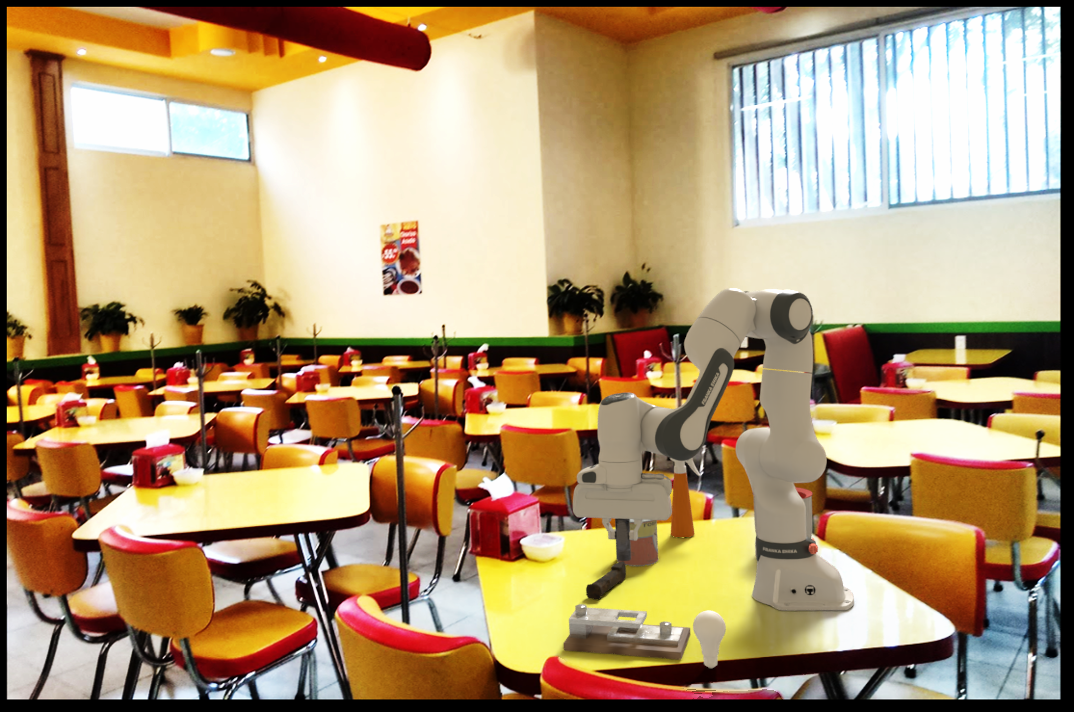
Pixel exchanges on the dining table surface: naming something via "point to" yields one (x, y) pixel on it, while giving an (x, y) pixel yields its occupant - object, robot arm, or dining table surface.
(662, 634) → the metal clamp fixture
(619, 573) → the hand tool
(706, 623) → the lightbulb
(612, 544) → the dining table surface
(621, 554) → the steel pin
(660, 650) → the walnut board
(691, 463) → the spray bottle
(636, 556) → the canned food
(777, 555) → the robot arm
